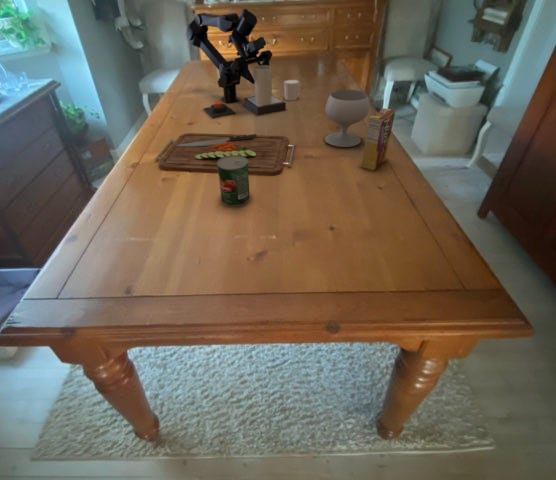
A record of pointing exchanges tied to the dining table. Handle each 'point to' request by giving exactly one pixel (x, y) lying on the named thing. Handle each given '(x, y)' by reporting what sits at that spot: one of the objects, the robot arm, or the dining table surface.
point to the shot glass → (291, 89)
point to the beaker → (263, 84)
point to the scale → (264, 106)
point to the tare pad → (218, 111)
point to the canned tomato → (233, 180)
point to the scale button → (218, 104)
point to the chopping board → (226, 152)
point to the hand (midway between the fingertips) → (262, 80)
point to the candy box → (377, 138)
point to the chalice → (346, 115)
